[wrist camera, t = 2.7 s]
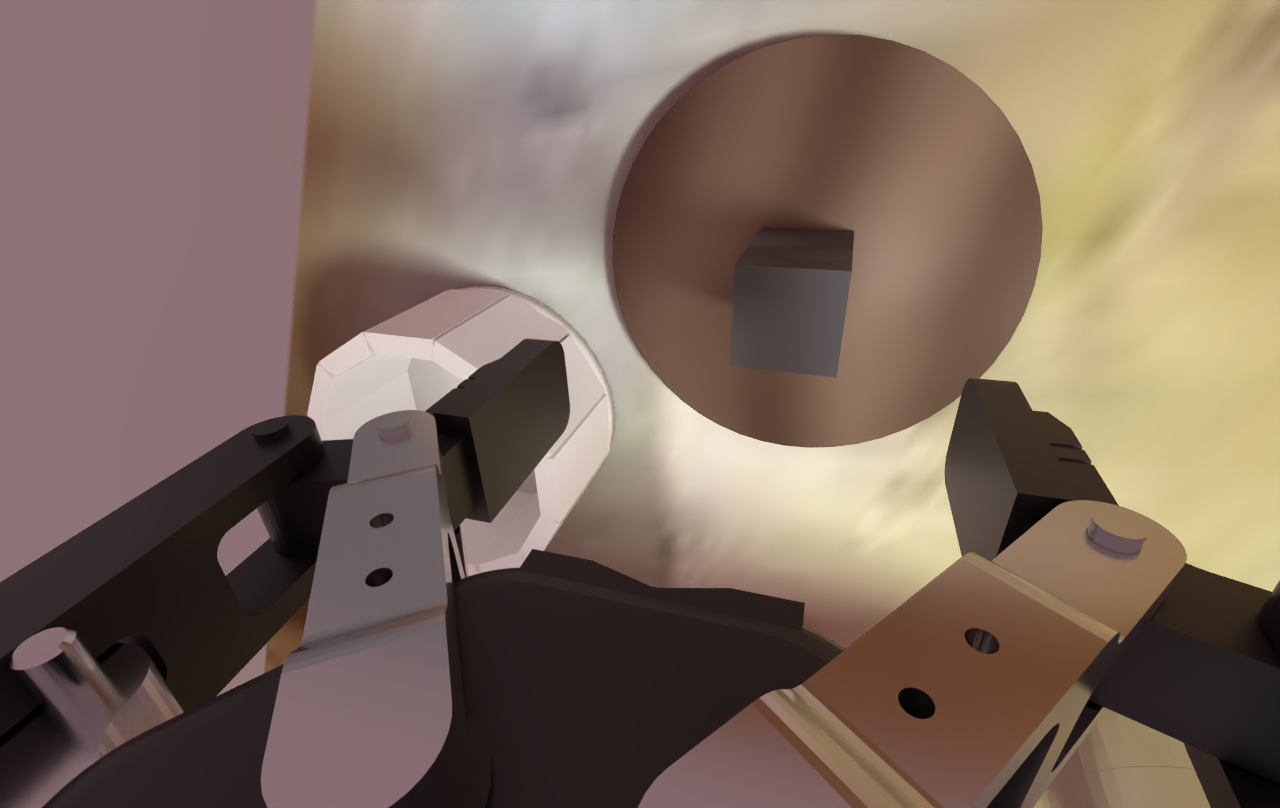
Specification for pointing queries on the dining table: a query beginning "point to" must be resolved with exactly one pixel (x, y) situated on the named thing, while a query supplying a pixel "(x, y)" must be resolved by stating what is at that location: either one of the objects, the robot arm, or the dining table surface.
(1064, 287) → the dining table surface
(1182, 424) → the dining table surface
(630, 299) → the walnut lid
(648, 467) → the dining table surface
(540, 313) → the ceramic bowl
